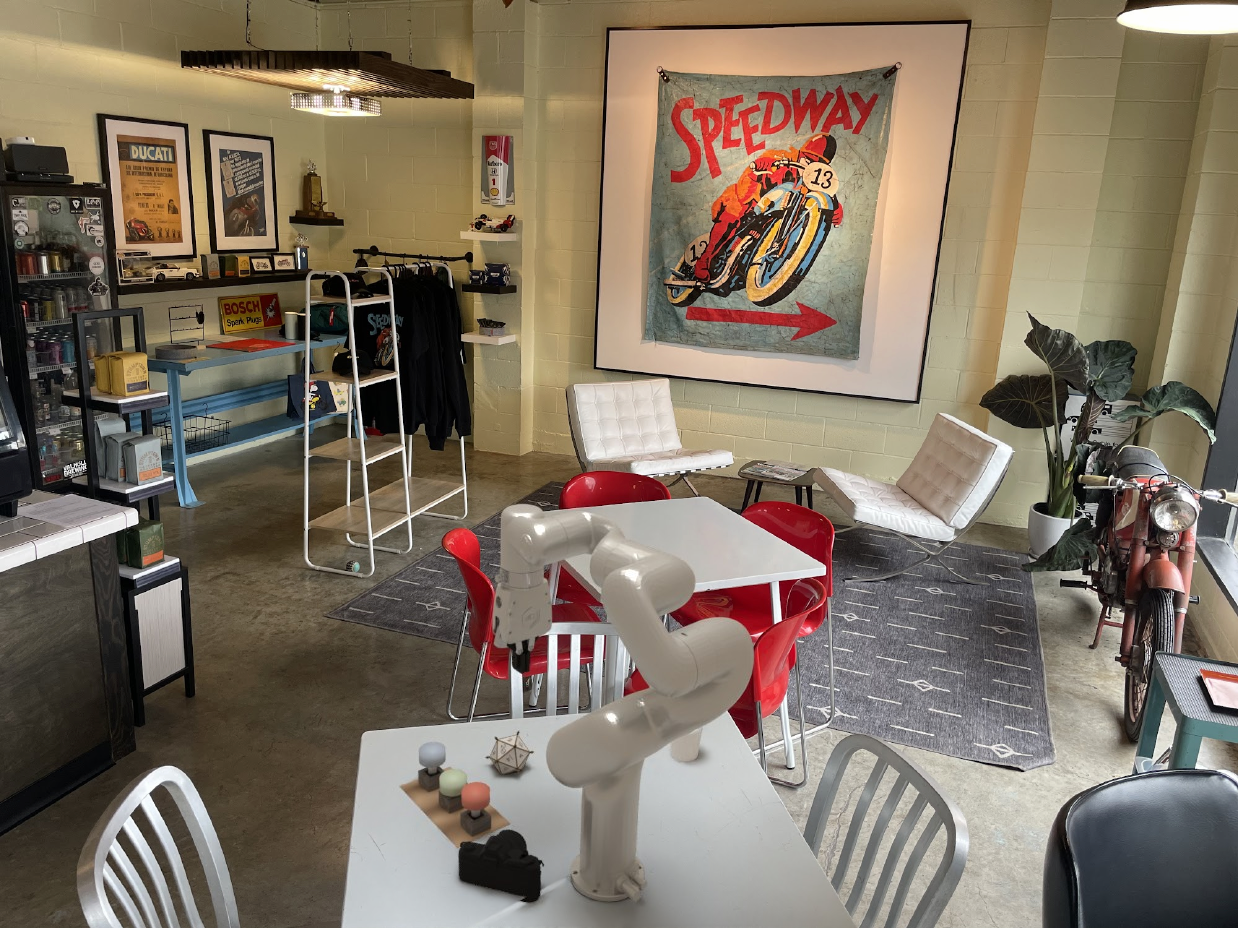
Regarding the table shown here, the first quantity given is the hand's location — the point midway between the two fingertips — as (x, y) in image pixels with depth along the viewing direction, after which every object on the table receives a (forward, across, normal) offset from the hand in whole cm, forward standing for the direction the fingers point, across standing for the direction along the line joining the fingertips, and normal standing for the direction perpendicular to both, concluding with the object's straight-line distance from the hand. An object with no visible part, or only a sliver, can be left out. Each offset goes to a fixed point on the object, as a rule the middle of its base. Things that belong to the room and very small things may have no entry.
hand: (520, 669), depth 167 cm
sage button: (+27, -10, +7) cm, 30 cm away
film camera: (+30, -12, -14) cm, 35 cm away
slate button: (+25, -10, +15) cm, 31 cm away
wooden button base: (+29, -10, +7) cm, 32 cm away
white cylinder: (+29, +38, -5) cm, 48 cm away
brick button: (+25, -10, -1) cm, 27 cm away
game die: (+29, +5, +11) cm, 32 cm away
